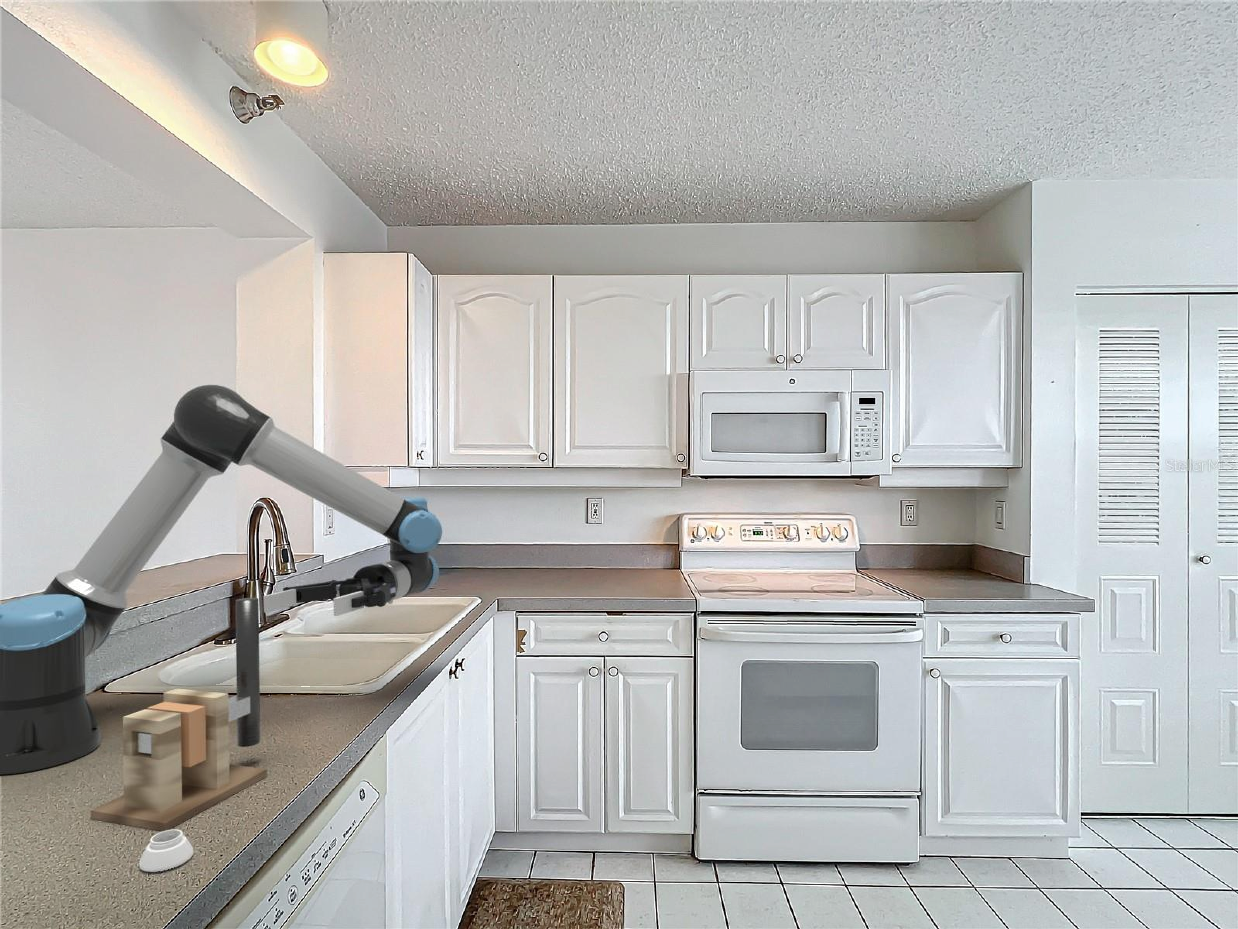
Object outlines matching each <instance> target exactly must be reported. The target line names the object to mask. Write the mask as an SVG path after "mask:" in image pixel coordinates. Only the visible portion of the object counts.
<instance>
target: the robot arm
mask: <svg viewBox="0 0 1238 929" xmlns="http://www.w3.org/2000/svg"><path fill="white" fill-rule="evenodd" d="M159 440H160V444H161V449H162V452H161V453H160V455H159V456H158V458H157V459H156V460H155V461H154V463H153V464H152V465H151V467H150V468H149V469H148V470H147V472H146V473H145V475H144V476H143V477H142V478H141V480H140V481H139V483H138V484H137V485H136V487H135V488H134V489H133V491H132V492H131V493H130V494H129V496H128V497H127V499H125V501H124V502H123V503H122V505H121V506H120V508H119V509H118V510H117V511H116V513H115V515H114V516H113V517H112V518H111V519H110V520H109V522H108V523H107V525H106V526H105V527H104V529H103V530H102V531H101V533H100V534H99V536H98V537H97V538H96V539H95V541H94V542H93V544H91V546H90V547H89V549H87V551H86V553H85V554H84V555H83V557H82V558H81V559H80V561H79V562H78V563H77V564H76V566H75V567H74V568H73V569H70V570H67V571H61V572H58V573H57V575H56V576H54V579H53V580H52V581H51V582H50V583H49V585H48V586H47V587H46V589H45V590H44V592H43V593H42V594H41V595H40V594H39V595H34V596H26V597H23V598H19V599H18V600H10V601H8V602H5V603H3V604H1V605H0V775H11V774H20V773H28V772H33V771H38V770H43V769H48V768H51V767H55V766H58V765H62V764H64V763H68V762H71V761H74V760H77V759H79V758H81V757H83V756H85V755H88V754H89V753H91V752H93V751H94V750H96V749H97V748H98V747H99V745H101V730H100V729H101V728H100V727H99V724H98V722H97V720H96V717H95V715H94V712H93V710H92V708H91V706H90V705H91V704H89V702H88V699H87V696H86V695H87V694H86V693H87V692H86V658H88V657H89V656H90V655H91V654H92V653H94V652H95V651H96V650H97V649H99V648H100V647H101V646H102V645H103V644H104V643H105V642H106V641H107V638H108V637H109V636H110V633H111V630H112V629H113V628H112V627H113V626H114V625H115V623H116V622H117V621H118V619H119V617H120V616H121V615H122V613H123V612H124V611H125V610H126V607H128V604H129V603H128V599H127V595H126V592H127V591H128V589H129V588H130V586H132V584H133V582H134V581H135V579H136V578H137V577H138V576H139V575H140V573H141V571H142V570H143V568H144V567H145V566H146V565H147V563H148V562H149V560H150V559H151V558H152V556H153V555H154V554H155V552H156V551H157V549H159V547H160V546H161V544H162V543H163V541H165V539H166V537H167V536H168V534H169V533H171V530H172V529H173V528H174V527H175V525H176V523H177V522H178V521H179V520H180V518H181V517H182V515H183V514H184V513H185V511H186V510H187V508H188V507H189V506H190V504H191V503H192V501H193V500H194V499H195V497H196V496H198V494H199V492H200V491H201V490H202V488H203V486H204V485H205V484H206V483H207V481H208V480H209V478H212V477H215V476H221V475H224V473H225V472H226V470H227V469H228V468H229V466H230V465H231V464H232V463H233V464H235V465H237V466H240V467H241V466H242V467H243V466H247V465H250V466H252V467H254V468H256V469H258V470H259V471H262V472H263V473H265V474H267V475H269V476H271V477H273V478H275V479H277V480H279V481H280V482H282V483H284V484H286V485H288V486H289V487H291V488H293V489H295V490H297V491H299V492H301V493H303V494H305V495H307V496H309V497H311V498H313V499H314V500H316V501H318V502H319V503H321V504H324V505H325V506H327V507H329V508H331V509H333V510H335V511H336V512H338V513H340V514H342V515H345V516H346V517H348V518H350V519H352V520H353V521H356V522H357V523H359V524H361V525H363V526H365V527H367V528H369V529H370V530H372V531H374V532H376V533H378V534H380V535H382V536H384V537H385V538H387V539H389V560H387V561H384V562H380V563H379V562H378V563H376V564H375V563H374V564H372V565H366V566H363V567H361V568H360V569H358V570H357V571H356V572H355V574H354V575H353V577H351V578H350V577H349V578H346V579H345V580H335V579H332V580H330V581H323V582H318V583H316V582H315V583H311V584H303V585H295V586H286V587H283V588H282V591H277V592H275V593H271V594H266V595H265V594H264V595H263V613H268V614H269V613H272V612H275V611H278V610H284V609H285V608H289V609H293V608H294V606H297V604H301V603H310V602H319V601H327V600H330V601H332V602H333V616H335V617H337V616H342V615H344V614H347V613H352V612H354V611H359V610H361V609H364V607H366V608H374V607H379V608H382V607H385V606H386V605H387V604H388V605H390V604H393V603H394V601H395V600H399V599H401V598H402V599H403V598H405V597H408V596H412V595H416V594H420V593H422V592H425V591H426V590H429V589H430V588H432V587H433V586H434V585H435V584H436V582H437V581H438V579H439V577H440V568H439V565H438V563H437V561H436V560H435V558H434V557H432V556H431V555H430V551H432V550H433V549H435V548H436V547H437V546H438V545H439V543H440V541H441V539H442V537H443V527H442V524H441V522H440V520H439V519H438V518H437V516H436V515H435V514H433V512H430V511H429V509H428V508H429V507H428V500H427V499H426V498H425V497H421V496H418V497H417V496H415V497H414V496H412V497H409V496H408V497H401V496H399V495H398V494H396V493H394V492H392V491H390V490H389V489H387V488H385V487H384V486H382V485H379V484H378V483H376V482H374V481H373V480H370V479H369V478H368V477H366V476H364V475H362V474H360V473H359V472H357V471H355V470H353V469H351V468H349V467H348V466H346V465H344V464H343V463H341V462H339V461H337V460H335V459H333V458H332V457H330V456H328V455H326V454H324V453H323V452H321V451H319V450H318V449H316V448H314V447H312V446H310V445H309V444H307V443H306V442H305V443H304V442H303V441H301V440H299V439H298V438H296V437H294V436H292V435H291V434H289V433H287V432H286V431H285V430H282V429H280V428H278V427H276V425H275V422H274V419H273V418H272V417H271V416H269V415H267V414H265V413H264V412H262V411H260V410H259V409H258V408H256V407H255V406H253V405H252V404H251V403H250V402H247V400H245V398H244V397H242V396H241V395H240V394H239V393H237V392H236V391H234V390H233V389H231V388H228V387H226V386H223V385H218V384H206V385H205V384H204V385H200V386H196V387H194V388H192V389H190V390H189V391H187V392H185V393H184V394H183V396H181V397H180V398H179V401H178V402H177V404H176V406H175V409H174V413H173V421H172V422H171V424H170V426H169V427H168V428H167V430H166V431H165V433H164V434H163V435H162V436H161V438H159ZM337 595H338V596H337Z"/></svg>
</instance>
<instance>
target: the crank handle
mask: <svg viewBox="0 0 1238 929" xmlns="http://www.w3.org/2000/svg"><path fill="white" fill-rule="evenodd" d="M259 599H260V598H258V597H245V598H238V599H235V653H236V654H235V655H236V656H235V664H236V665H235V666H236V675H235V676H236V695H233V696H230V697H228V706H229V723H230V722H232V721H234V720H236V737H237V738H236V740H237V743H236V744H237V747H240V748H248V747H252V746H256V745H258V744H260V742H261V703H260V702H261V696H260V695H261V689H260V688H261V687H260V686H261V685H260V684H261V683H260V682H261V681H260V678H261V677H260V618H259V617H260V616H259V615H260V613H259V610H260V607H259V606H260V605H259ZM138 752H142V753H149V754H151V733H146V732H139V733H138Z"/></svg>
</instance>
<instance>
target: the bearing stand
mask: <svg viewBox="0 0 1238 929" xmlns="http://www.w3.org/2000/svg"><path fill="white" fill-rule="evenodd" d="M162 695H163V702H171V703H180V704H189V705H198V706H205V715H206V760H204V761H202V762H200V763H198V764H196V765H194V766H191V767H184V766H181V713H174V712H165V711H156V710H147V709H146V708H145V709H141V710H139V711H137V712H133V713H131V714H128V715H125V716H123V717H122V746H123V748H122V750H123V751H122V755H123V757H122V758H123V762H122V764H123V795H121V796H119V797H116V798H115V799H113V800H110V801H109V802H106V803H104V804H102V805H100V806H97V807H96V808H92V809H91V810H90V820H91V819H92V820H97V821H101V822H102V821H103V822H109V823H114V824H118V825H124V826H125V825H126V826H131V827H136V828H141V829H149V830H154V831H158V832H159V831H160V832H163V831H166V830H172V829H173V828H175V827H176V825H177V826H179V825H180V824H182V823H184V822H185V820H186V821H188V820H190V819H191V818H193V817H195V816H197V815H199V814H200V812H201V811H202V812H205V811H206V810H208V809H209V808H211V807H213V805H214V806H215V805H217V804H219V803H220V802H222V801H224V800H227V799H228V798H230V797H232V796H234V795H236V794H237V792H238V793H239V792H241V791H243V790H245V789H247V788H248V787H251V786H252V785H255V784H256V783H258V782H260V781H262V780H264V779H265V778H267V777H268V772H267V771H268V769H266V768H259V767H258V768H257V767H251V766H243V765H237V764H235V765H234V764H230V726H229V725H230V722H229V706H228V698H229V693H224V692H215V691H205V690H197V689H196V690H195V689H185V688H174V689H171V690H167V691H165V692H163V694H162ZM139 732H146V733H151V754H149V753H142V752H138V733H139ZM233 794H234V795H233ZM207 808H208V809H207ZM205 809H206V810H205ZM202 812H201V813H202ZM198 813H199V814H198ZM196 814H197V815H196ZM194 815H195V816H194ZM192 816H193V817H192ZM187 819H188V820H187ZM183 821H184V822H183Z"/></svg>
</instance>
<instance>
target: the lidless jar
mask: <svg viewBox="0 0 1238 929" xmlns="http://www.w3.org/2000/svg"><path fill="white" fill-rule="evenodd" d="M193 855H194V849H193V846H192V844H191V843H190V841H189V839H188V838H187V836H185V835H184V832H183V831H182V830H181V829H173V828H172V829H169V830H166V831H160V832H158V833H155V835H152V836H151V838H150V840H149V843H148V844H147V846H146V847H145V849H144V851H143V853H142V855H141V857H140V859H139V870H142V871H144V872H150V873H159V872H158V871H160V872H165V871H169V870H171V868H173V869H174V867H175V868H177V867H179V866H181V865H183V864H184V863H186V862H188V861H189V860H190V859H191V858H192V856H193ZM168 869H169V870H168ZM164 870H165V871H164Z"/></svg>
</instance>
